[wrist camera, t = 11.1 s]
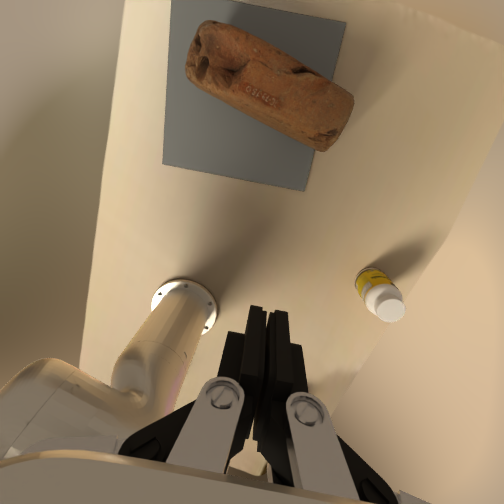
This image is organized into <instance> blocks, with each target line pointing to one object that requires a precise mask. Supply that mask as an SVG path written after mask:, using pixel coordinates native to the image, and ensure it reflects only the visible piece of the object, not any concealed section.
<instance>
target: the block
mask: <svg viewBox="0 0 504 504" xmlns="http://www.w3.org/2000/svg"><path fill="white" fill-rule="evenodd" d="M185 73H186V76H187V78H188V80H189V81H190V82H191V83H193V84H194V85H195V86H196V87H197V88H199V89H200V90H202V91H204V92H206V93H208V94H209V95H211V96H213V97H215V98H217V99H219V100H221V101H223V102H224V103H226V104H228V105H230V106H231V107H233V108H235V109H237V110H239V111H241V112H242V113H244V114H246V115H248V116H250V117H252V118H253V119H256V120H258V121H259V122H261V123H263V124H265V125H267V126H269V127H271V128H273V129H275V130H277V131H279V132H281V133H283V134H284V135H286V136H288V137H290V138H292V139H294V140H296V141H298V142H300V143H302V144H304V145H307V146H309V147H311V148H313V149H315V150H318V151H321V152H325V151H327V150H328V149H329V147H331V146H332V145H333V144H334V143H335V142H336V140H337V139H338V137H339V136H340V134H341V132H342V130H343V129H344V127H345V125H346V123H347V121H348V119H349V117H350V114H351V112H352V109H353V106H354V99H353V96H352V95H351V94H350V93H349V92H347V91H346V90H345V89H343V88H341V87H339V86H338V85H336V84H335V83H333V82H331V81H329V80H328V79H327V78H325V77H324V76H322V75H321V74H319V73H318V72H316V71H314V70H313V69H311V68H310V67H308V66H306V65H304V64H303V63H301V62H300V61H298V60H297V59H295V58H293V57H292V56H290V55H289V54H287V53H285V52H284V51H282V50H280V49H279V48H277V47H275V46H273V45H272V44H270V43H268V42H266V41H264V40H263V39H261V38H259V37H256V36H254V35H252V34H250V33H248V32H246V31H244V30H242V29H240V28H237V27H235V26H233V25H230V24H225V23H221V22H218V21H214V20H206V21H204V22H203V23H201V24H200V25H199V27H198V29H197V32H196V34H195V36H194V38H193V41H192V43H191V45H190V48H189V51H188V54H187V61H186V64H185Z"/></svg>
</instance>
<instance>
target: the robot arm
mask: <svg viewBox="0 0 504 504" xmlns="http://www.w3.org/2000/svg"><path fill="white" fill-rule="evenodd" d="M187 284H188V285H187ZM262 309H263V307H259V306H254V305H251V306H250V310H249V315H248V320H247V325H246V330H245V334H242V333H236V332H231V331H228V334H227V338H226V342H225V346H224V350H223V355H222V359H221V363H220V367H219V371H218V375H217V377H215V378H213V379H210V380H209V381H207V382H206V383H205V385H204V386H203V387H202V389H201V391H200V393H199V396H198V398H197V399H196V400H195V401H193V402H191V403H189V404H187V405H185V406H183V407H181V408H180V409H178V410H176V411H174V412H173V410H174V407H175V404H176V401H177V398H178V395H179V392H180V389H181V387H182V384H183V381H184V379H185V376H186V374H187V371H188V368H189V366H190V363H191V361H192V358H193V355H194V353H195V350H196V348H197V345H198V342H199V340H200V337H201V335H203V334H205V333H206V332H208V331H209V330H210V329H211V328H212V327H213V325H214V323H215V320H216V317H217V305H216V302H215V300H214V298H213V296H212V295H211V293H210V292H209V291H208V290H207V289H206V288H205V287H203V286H202V285H200V284H198V283H196V282H194V281H190V280H184V279H178V280H172V281H169V282H167V283H165V284H163V285H162V286H161V287H160V288H159V289H158V290H157V291H156V293H155V295H154V296H153V299H152V312H151V314H150V315H149V316H148V318H147V319H146V321H145V322H144V323H143V325H142V326H141V327H140V329H139V330H138V331H137V333H136V334H135V336H134V337H133V338H132V340H131V341H130V342H129V344H128V345H127V346H126V348H125V349H124V351H123V352H122V353H121V355H120V356H119V358H118V359H117V361H116V363H115V365H114V368H113V372H112V376H111V385H110V386H108V385H106V384H104V383H102V382H101V381H99V380H97V379H95V378H94V377H92V376H90V375H88V374H87V373H85V372H83V371H81V370H80V369H78V368H76V367H74V366H72V365H70V364H68V363H66V362H64V361H62V360H59V359H55V358H43V359H40V360H37V361H35V362H33V363H31V364H29V365H28V366H26V367H25V368H24V369H22V370H21V371H20V372H19V373H18V374H16V375H15V376H14V377H13V378H12V379H11V380H10V381H9V382H8V383H7V384H6V385H5V386H4V387H3V388H2V389H1V390H0V504H430V503H428V502H426V501H423V500H421V499H419V498H416V497H414V496H412V495H410V494H407V493H405V492H403V491H401V490H399V491H398V493H395V492H393V491H392V489H391V488H390V487H389V485H388V484H387V483H386V482H385V481H384V480H383V479H382V478H381V477H380V476H379V475H378V474H377V473H376V472H375V471H374V470H373V469H372V468H371V467H370V466H369V465H368V464H367V463H366V462H365V461H364V460H363V459H362V458H361V457H360V456H359V455H358V454H357V453H356V452H355V451H353V450H352V449H351V448H350V447H349V446H348V445H347V444H346V443H345V442H344V441H343V440H342V439H341V438H340V437H339V436H338V435H337V434H336V432H335V429H334V427H333V424H332V421H331V418H330V415H329V413H328V410H327V408H326V406H325V405H324V404H323V403H322V402H321V400H319V399H318V398H317V397H315V396H314V395H311V394H309V393H308V386H307V379H306V372H305V365H304V358H303V351H302V346H301V345H299V344H293V343H290V333H289V321H288V312H285V311H280V310H275V312H274V313H273V312H270V314H269V318H268V323H267V327H266V316H267V311H262ZM253 419H254V426H253V440H255V441H258V445H257V452H261V454H262V455H263V456H264V458H265V459H266V460H267V462H268V464H267V474H268V482H263V481H257V480H253V479H248V478H243V477H238V476H232V475H227V471H228V468H229V464H230V460H231V458H232V457H234V456H235V455H236V454H237V453H239V452H240V451H241V450H243V446H244V442H245V439H249V435H250V431H251V427H252V423H253Z"/></svg>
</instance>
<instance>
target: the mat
mask: <svg viewBox="0 0 504 504" xmlns="http://www.w3.org/2000/svg"><path fill="white" fill-rule="evenodd" d="M206 20H214V21H218V22H221V23H225V24H230V25H233V26H235V27H237V28H240V29H242V30H244V31H246V32H248V33H250V34H252V35H254V36H256V37H259V38H261V39H263V40H264V41H266V42H268V43H270V44H272V45H273V46H275V47H277V48H279V49H280V50H282V51H284V52H285V53H287V54H289V55H290V56H292V57H293V58H295V59H297V60H298V61H300V62H301V63H303V64H304V65H306V66H308V67H310V68H311V69H313V70H314V71H316V72H318V73H319V74H321V75H322V76H324V77H325V78H327V79H328V80H329V81H331V82H332V78H333V74H334V70H335V66H336V62H337V58H338V54H339V50H340V46H341V42H342V38H343V34H344V30H345V25H346V23H345V22H339V21H334V20H329V19H324V18H318V17H313V16H308V15H303V14H297V13H292V12H287V11H282V10H276V9H271V8H266V7H261V6H255V5H250V4H245V3H240V2H234V1H229V0H171V16H170V34H169V52H168V70H167V89H166V107H165V125H164V143H163V161H162V164H164V165H169V166H174V167H179V168H185V169H190V170H195V171H200V172H205V173H211V174H216V175H221V176H226V177H231V178H236V179H242V180H247V181H252V182H257V183H262V184H267V185H273V186H278V187H283V188H288V189H293V190H299V191H305V187H306V183H307V179H308V175H309V171H310V167H311V163H312V159H313V155H314V151H315V149H313V148H311V147H309V146H307V145H304V144H302V143H300V142H298V141H296V140H294V139H292V138H290V137H288V136H286V135H284V134H283V133H281V132H279V131H277V130H275V129H273V128H271V127H269V126H267V125H265V124H263V123H261V122H259V121H258V120H256V119H253V118H252V117H250V116H248V115H246V114H244V113H242V112H241V111H239V110H237V109H235V108H233V107H231V106H230V105H228V104H226V103H224V102H223V101H221V100H219V99H217V98H215V97H213V96H211V95H209V94H208V93H206V92H204V91H202V90H200V89H199V88H197V87H196V86H195V85H194V84H193V83H191V82H190V81H189V80H188V78H187V76H186V73H185V64H186V61H187V54H188V51H189V48H190V45H191V43H192V41H193V38H194V36H195V34H196V32H197V29H198V27H199V25H200V24H201V23H203V22H204V21H206Z"/></svg>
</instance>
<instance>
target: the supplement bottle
mask: <svg viewBox="0 0 504 504" xmlns="http://www.w3.org/2000/svg"><path fill="white" fill-rule="evenodd" d="M355 287H356V289H357V291H358V293H359V295H360V296H361V298H362V300H363V301H364V303H365V305H366V307H367V308H368V310H369V311H370V312H371V313H373V314H375V315H377V316H378V317H379V318H380V319H381V320H382V321H385V322H395V321H398V320H399V319H401V318H402V317H403V315H404V314H405V310H406V308H405V305H404V303H403V302H402V295H401V292H400V291H399V290H398V288H397V287H396V286H395V285H394V284H393V283H392V282H391V280H390V279H389V278H388V277H387V276H386V275H385V274H384V273H383V272H382V271H381V270H379V269H377V268H367V269H364V270H362V271H361V272H360V273H359V274H358V275H357V276H356V278H355Z"/></svg>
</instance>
